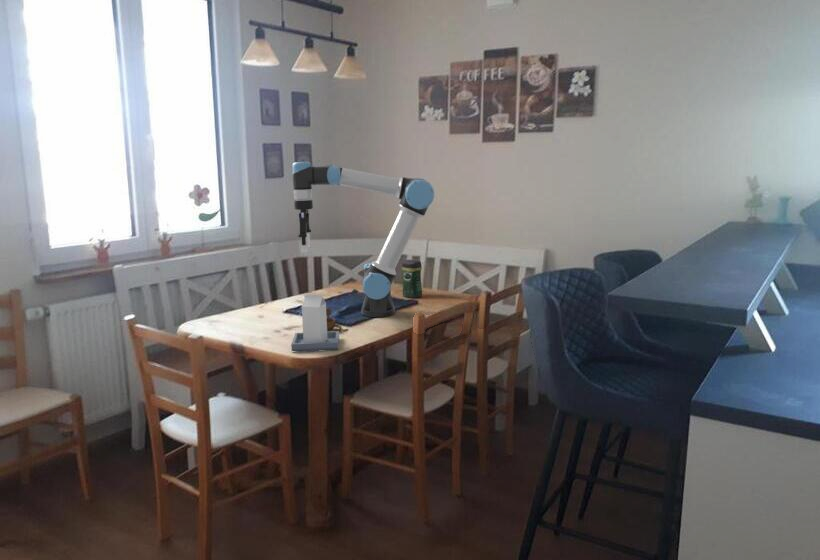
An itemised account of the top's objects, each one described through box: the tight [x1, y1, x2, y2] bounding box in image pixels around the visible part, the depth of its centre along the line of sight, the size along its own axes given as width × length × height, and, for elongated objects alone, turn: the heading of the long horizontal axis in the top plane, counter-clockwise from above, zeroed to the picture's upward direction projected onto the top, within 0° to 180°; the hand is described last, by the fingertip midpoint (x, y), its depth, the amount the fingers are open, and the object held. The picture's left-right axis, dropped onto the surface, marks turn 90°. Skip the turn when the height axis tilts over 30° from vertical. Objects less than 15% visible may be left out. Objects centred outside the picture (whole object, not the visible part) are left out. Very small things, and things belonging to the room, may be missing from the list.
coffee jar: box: [401, 259, 423, 299], centre depth 323 cm, size 10×8×19 cm
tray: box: [291, 330, 340, 352], centre depth 247 cm, size 17×15×3 cm
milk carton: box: [301, 293, 328, 343], centre depth 245 cm, size 7×7×19 cm
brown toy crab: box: [326, 308, 349, 334], centre depth 271 cm, size 18×20×6 cm
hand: (305, 250), depth 273 cm, fingers open, 13 cm apart
